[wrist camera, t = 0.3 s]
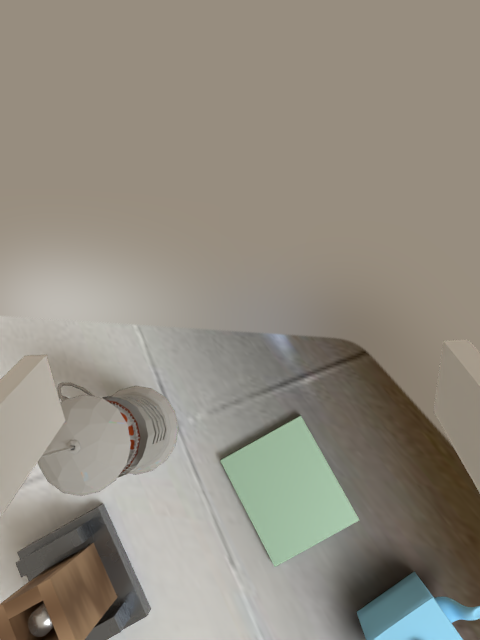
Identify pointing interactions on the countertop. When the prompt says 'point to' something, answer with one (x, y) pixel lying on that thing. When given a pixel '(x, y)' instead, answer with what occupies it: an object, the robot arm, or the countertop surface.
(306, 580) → the countertop surface
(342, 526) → the board
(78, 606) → the sleeve
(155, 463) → the french press
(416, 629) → the teapot
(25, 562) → the peg stand
